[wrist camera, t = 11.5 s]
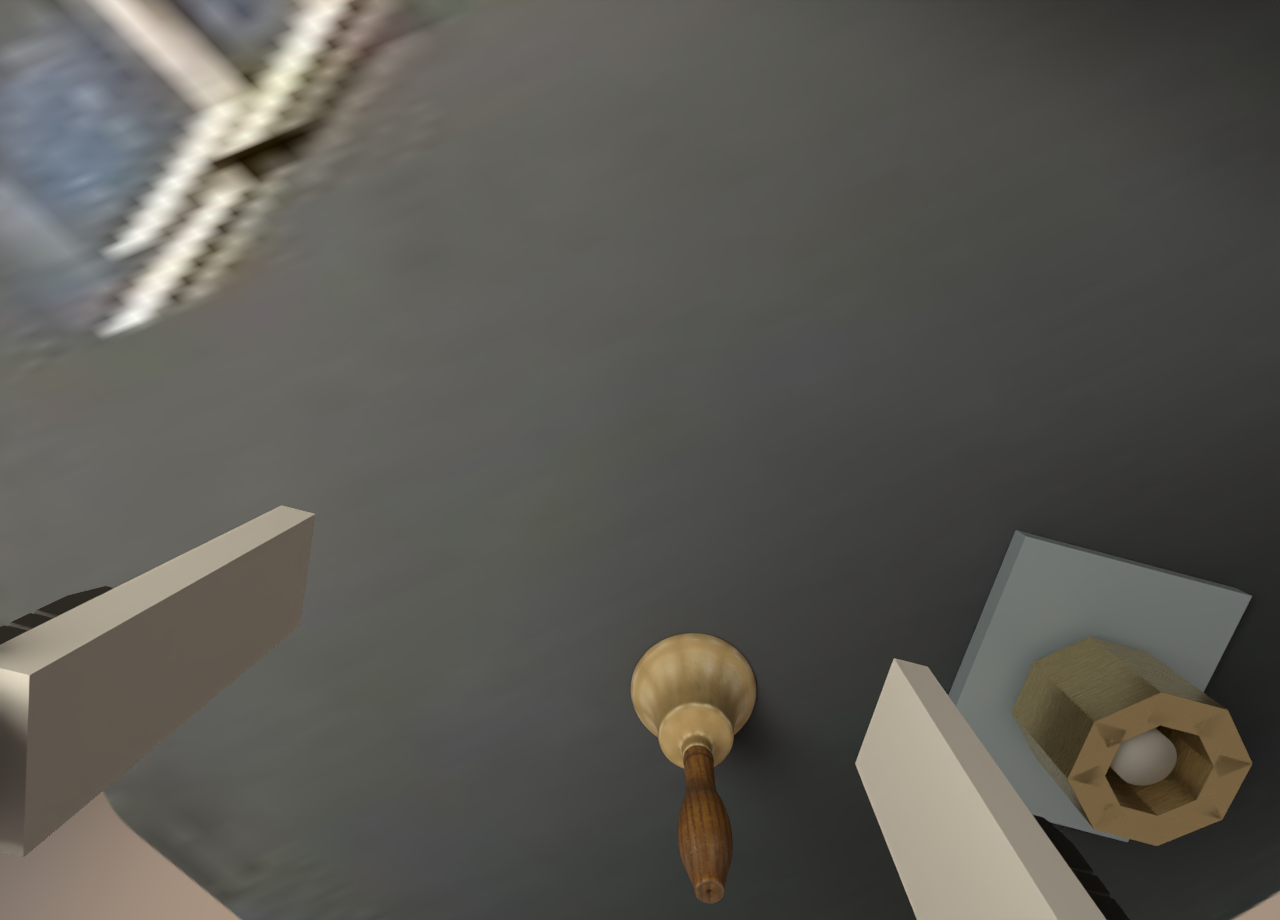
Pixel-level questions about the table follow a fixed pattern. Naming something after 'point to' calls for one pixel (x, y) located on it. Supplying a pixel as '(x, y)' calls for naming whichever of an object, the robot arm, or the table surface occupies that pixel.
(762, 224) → the table surface
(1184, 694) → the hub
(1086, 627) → the stand
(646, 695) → the hand bell
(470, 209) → the table surface
